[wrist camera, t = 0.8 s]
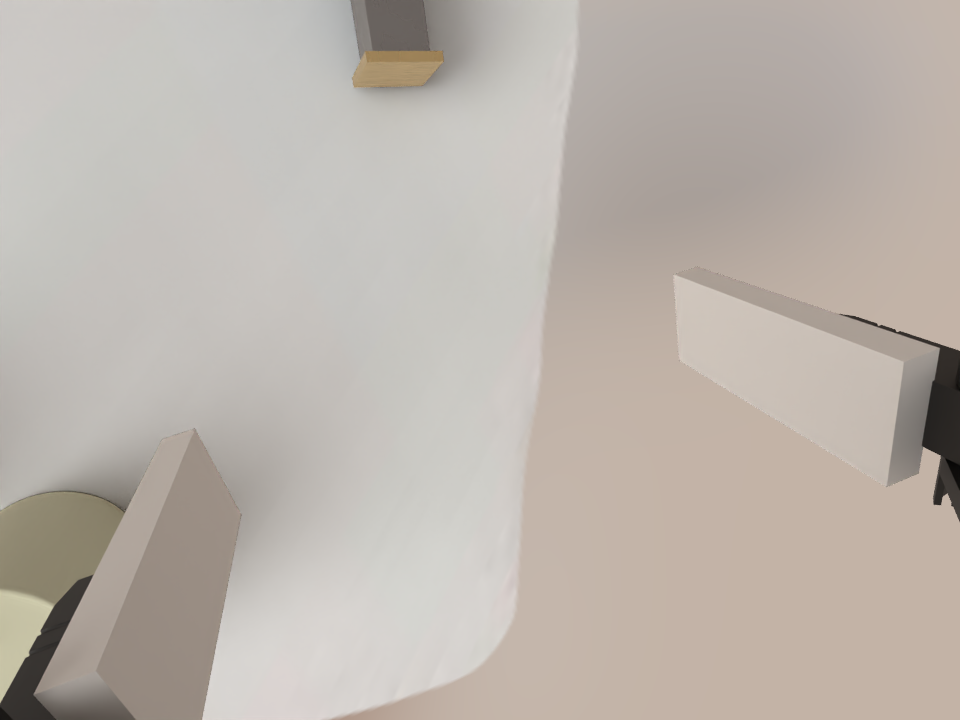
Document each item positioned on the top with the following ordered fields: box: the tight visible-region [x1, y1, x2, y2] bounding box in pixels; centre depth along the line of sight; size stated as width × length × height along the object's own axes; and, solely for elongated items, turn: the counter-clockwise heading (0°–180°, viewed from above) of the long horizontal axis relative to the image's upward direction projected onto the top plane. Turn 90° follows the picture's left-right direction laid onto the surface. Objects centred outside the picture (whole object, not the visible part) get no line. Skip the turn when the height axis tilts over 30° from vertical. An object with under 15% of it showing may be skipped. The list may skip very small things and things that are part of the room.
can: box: [0, 492, 125, 703], centre depth 29 cm, size 9×9×12 cm
